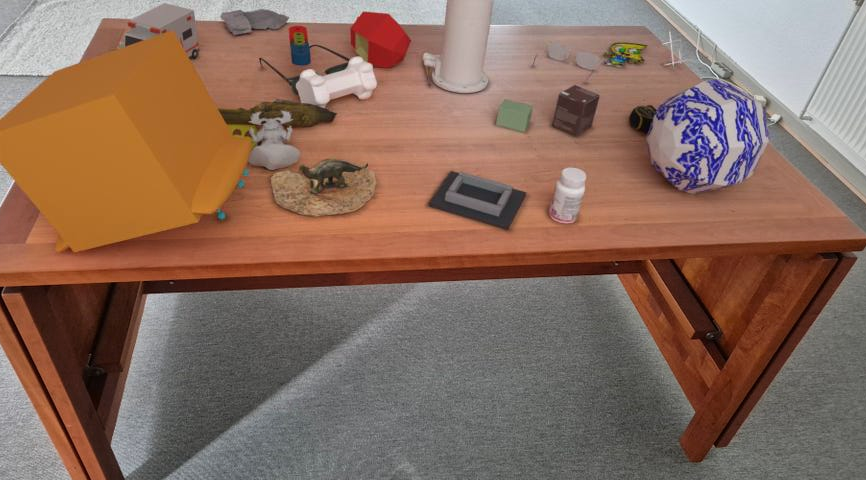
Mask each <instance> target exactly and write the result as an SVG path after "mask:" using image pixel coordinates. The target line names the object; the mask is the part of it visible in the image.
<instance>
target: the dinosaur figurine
mask: <svg viewBox="0 0 866 480" xmlns="http://www.w3.org/2000/svg"><path fill="white" fill-rule="evenodd" d="M368 168H369V163H368V162H367V163H365V165H364V164H362V163H352V162H351V161H348V160H345V159H343V158H326V159H323V160H320V161H318V162H317V163H316V164H315V165H313V166H312V167H310V168H309V167H308V166H306V165H305V164H300V165H299V166H298V172H293V171H291V170H288V169H286V170H285V171H278V172H276V173H273V175H272V176H271V177H270V179H269V180H270V185H271V187H272V191H271V192H272V194H273V199H274V202H275V203H276V204H277V205H278V206H280V207H281V208H282V209H286V210H289V211H291V212H294V213H295V214H299V215H303V216H309V217H313V218H314V217H315V218H317V217H322V216H332V215H341V214H347V213H352V212H356V211H358V210H359V209H361V208H362V207H364V206H365V205H366V204H367V202H368V201H370V200H371V199H372V198H373V196H374V194H375V190H376V189H375V188H376V186H378V183H377V179H376V175H375V171H374V170H369V169H368Z"/></svg>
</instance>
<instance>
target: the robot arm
mask: <svg viewBox="0 0 866 480" xmlns="http://www.w3.org/2000/svg"><path fill="white" fill-rule="evenodd" d="M494 2H495V0H446V6H445V16H444V18H445V19H444V25H443V35H442V43H441V44H442V45H441V52H440V54H437V55H436V54H433V53H429V52H424V53H423V55H422V62H423V66H424V65H425V66H427V67H429V68H433V69H432V72H431V81H432V82H433V83H434V85H436V86H437V87H439V88H441V89H443V90H445V91H448V92H452V93H459V94H471V93H472V94H473V93H477V92H481V91H483V90H484V89H485V88H487V87H488V85H489V76H488V75H487V73H486V72H485V71H484V66H485V60H486V54H487V47H488V40H489V34H490V30H491V29H490V28H491V21H492V15H493V8H494ZM425 66H424V67H425Z"/></svg>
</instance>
